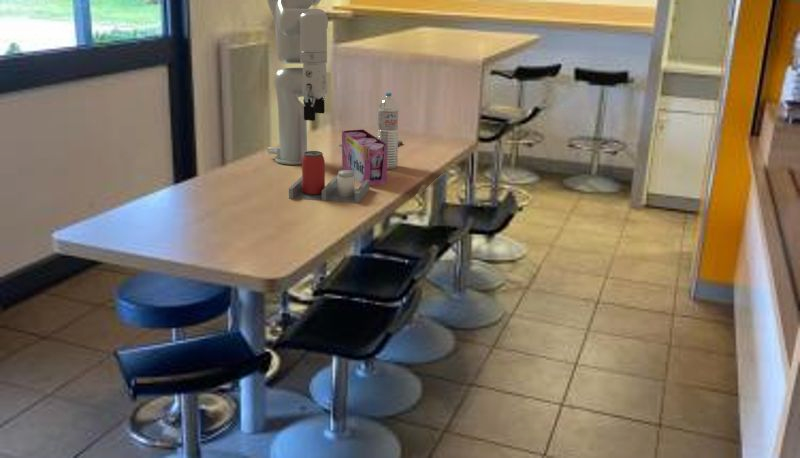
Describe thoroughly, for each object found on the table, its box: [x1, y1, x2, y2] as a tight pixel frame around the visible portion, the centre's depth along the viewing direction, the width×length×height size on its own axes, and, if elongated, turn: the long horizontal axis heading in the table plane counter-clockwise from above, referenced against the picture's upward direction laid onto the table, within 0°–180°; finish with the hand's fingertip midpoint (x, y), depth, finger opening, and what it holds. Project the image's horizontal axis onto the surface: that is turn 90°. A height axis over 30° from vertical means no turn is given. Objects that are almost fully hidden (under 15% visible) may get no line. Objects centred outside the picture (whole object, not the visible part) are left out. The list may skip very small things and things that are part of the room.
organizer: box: [288, 176, 370, 204], centre depth 239 cm, size 21×14×4 cm
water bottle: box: [377, 92, 400, 170], centre depth 269 cm, size 7×7×25 cm
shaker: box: [336, 170, 356, 198], centre depth 237 cm, size 5×5×7 cm
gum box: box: [341, 128, 388, 186], centre depth 257 cm, size 24×8×14 cm, turn 22°
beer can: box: [301, 150, 326, 195], centre depth 238 cm, size 7×7×12 cm
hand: (314, 116), depth 235 cm, fingers open, 9 cm apart
